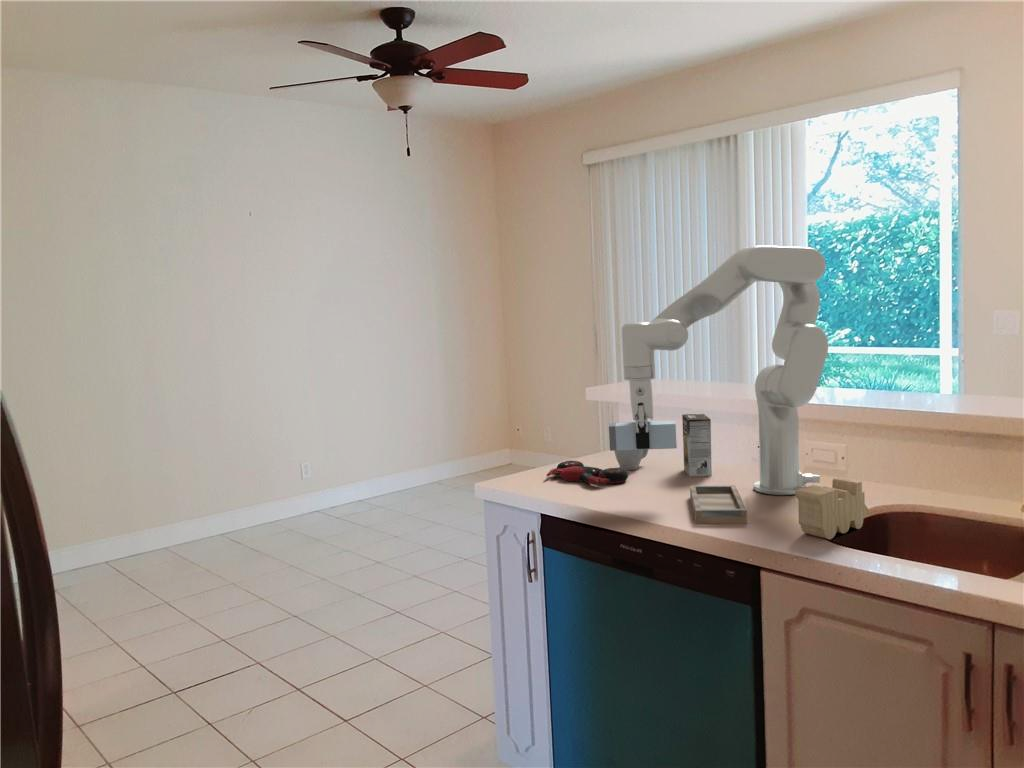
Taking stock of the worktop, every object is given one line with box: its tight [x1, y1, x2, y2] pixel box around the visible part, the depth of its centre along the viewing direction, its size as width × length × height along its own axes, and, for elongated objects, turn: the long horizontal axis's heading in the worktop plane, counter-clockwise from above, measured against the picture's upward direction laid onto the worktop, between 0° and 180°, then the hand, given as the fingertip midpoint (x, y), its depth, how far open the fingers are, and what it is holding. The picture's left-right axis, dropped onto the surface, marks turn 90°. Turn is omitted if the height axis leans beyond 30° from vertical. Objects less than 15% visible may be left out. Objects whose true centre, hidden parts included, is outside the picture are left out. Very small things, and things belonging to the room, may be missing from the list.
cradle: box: [689, 484, 748, 525], centre depth 183 cm, size 22×11×3 cm, turn 170°
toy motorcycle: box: [546, 460, 629, 486], centre depth 220 cm, size 25×5×16 cm
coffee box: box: [681, 413, 713, 477], centre depth 220 cm, size 9×6×16 cm
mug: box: [614, 449, 649, 471], centre depth 231 cm, size 12×9×10 cm
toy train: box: [794, 477, 870, 540], centre depth 163 cm, size 6×17×10 cm, turn 124°
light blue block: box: [608, 420, 678, 452], centre depth 193 cm, size 16×5×6 cm, turn 80°
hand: (643, 445), depth 193 cm, fingers closed on light blue block, 5 cm apart
